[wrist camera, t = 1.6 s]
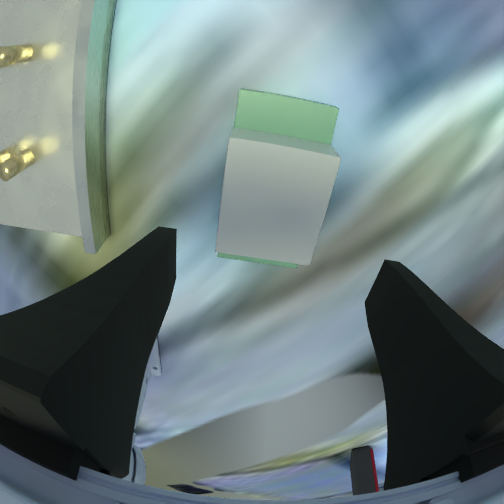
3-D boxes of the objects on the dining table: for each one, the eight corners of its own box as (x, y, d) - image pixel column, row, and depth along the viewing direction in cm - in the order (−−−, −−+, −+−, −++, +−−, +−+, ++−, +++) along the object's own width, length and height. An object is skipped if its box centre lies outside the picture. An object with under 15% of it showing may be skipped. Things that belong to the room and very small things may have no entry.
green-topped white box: (295, 257, 20) (300, 293, 17) (219, 246, 20) (212, 281, 17) (333, 105, 15) (351, 116, 12) (241, 88, 14) (235, 93, 12)
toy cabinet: (367, 460, 46) (375, 526, 34) (346, 464, 47) (352, 530, 34) (373, 444, 40) (384, 522, 28) (348, 449, 41) (356, 528, 28)
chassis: (110, 233, 19) (89, 262, 16) (-19, 215, 18) (-42, 235, 16) (125, -44, 9) (99, -60, 6) (-29, 9, 8) (-58, 12, 6)
